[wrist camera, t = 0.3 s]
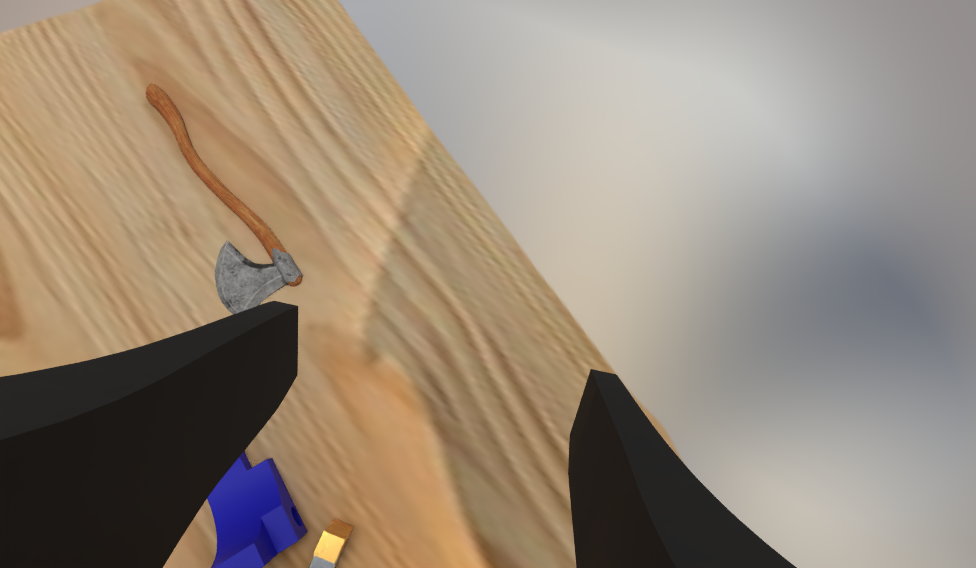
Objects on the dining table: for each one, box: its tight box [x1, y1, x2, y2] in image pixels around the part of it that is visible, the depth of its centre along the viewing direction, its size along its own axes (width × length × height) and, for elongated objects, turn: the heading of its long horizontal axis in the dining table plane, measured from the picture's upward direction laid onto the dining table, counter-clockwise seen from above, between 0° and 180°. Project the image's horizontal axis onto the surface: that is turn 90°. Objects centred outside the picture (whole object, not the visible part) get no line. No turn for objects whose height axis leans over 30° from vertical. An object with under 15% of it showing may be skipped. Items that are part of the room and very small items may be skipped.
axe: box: [146, 84, 302, 315], centre depth 42 cm, size 22×6×2 cm, turn 39°
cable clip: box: [207, 452, 307, 568], centre depth 34 cm, size 12×4×6 cm, turn 31°
